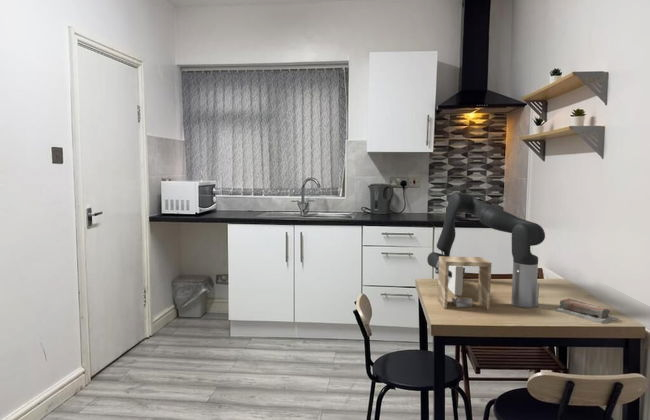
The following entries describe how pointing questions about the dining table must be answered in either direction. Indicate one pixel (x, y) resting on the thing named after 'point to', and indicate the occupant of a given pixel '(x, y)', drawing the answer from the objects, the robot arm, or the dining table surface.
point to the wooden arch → (483, 281)
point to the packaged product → (585, 311)
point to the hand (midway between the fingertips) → (455, 275)
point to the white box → (456, 280)
